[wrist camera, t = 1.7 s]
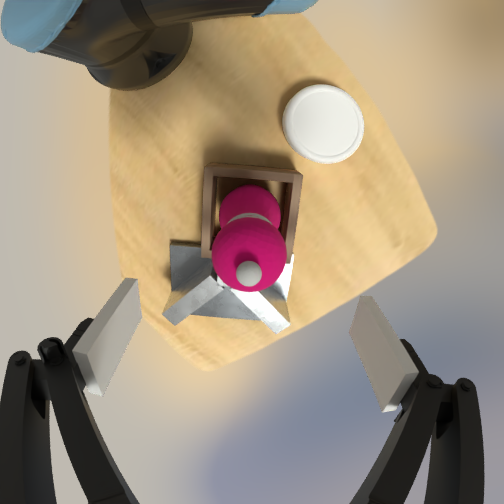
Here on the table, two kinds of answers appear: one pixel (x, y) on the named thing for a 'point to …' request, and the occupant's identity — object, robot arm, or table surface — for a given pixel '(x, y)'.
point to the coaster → (323, 124)
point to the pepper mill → (249, 240)
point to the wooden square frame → (250, 172)
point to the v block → (221, 292)
